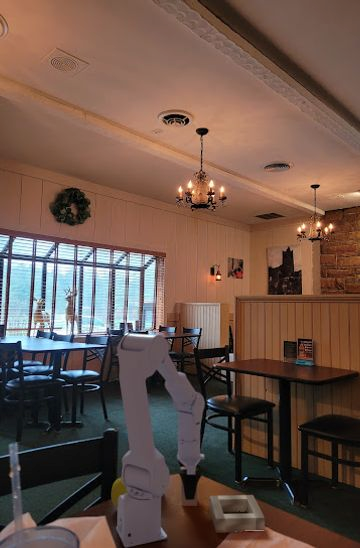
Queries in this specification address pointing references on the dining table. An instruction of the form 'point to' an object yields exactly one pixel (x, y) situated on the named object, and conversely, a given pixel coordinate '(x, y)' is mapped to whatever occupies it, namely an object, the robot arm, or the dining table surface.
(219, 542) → the dining table surface
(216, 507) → the collar
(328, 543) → the dining table surface
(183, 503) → the peg
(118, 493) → the lemon
